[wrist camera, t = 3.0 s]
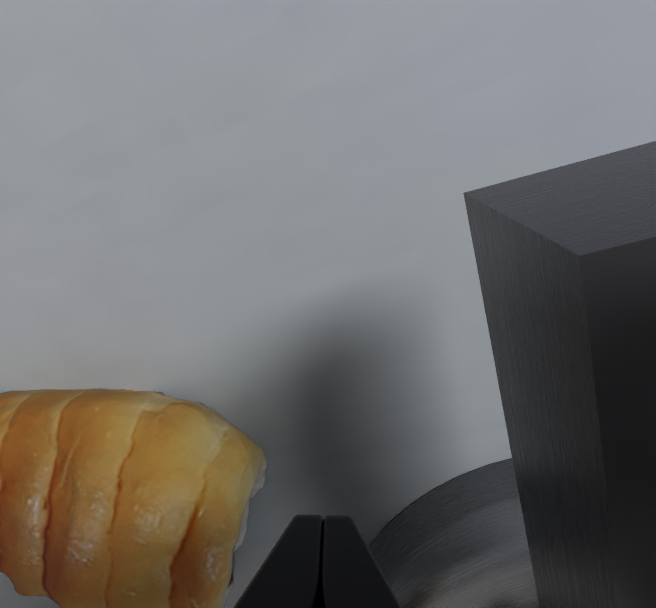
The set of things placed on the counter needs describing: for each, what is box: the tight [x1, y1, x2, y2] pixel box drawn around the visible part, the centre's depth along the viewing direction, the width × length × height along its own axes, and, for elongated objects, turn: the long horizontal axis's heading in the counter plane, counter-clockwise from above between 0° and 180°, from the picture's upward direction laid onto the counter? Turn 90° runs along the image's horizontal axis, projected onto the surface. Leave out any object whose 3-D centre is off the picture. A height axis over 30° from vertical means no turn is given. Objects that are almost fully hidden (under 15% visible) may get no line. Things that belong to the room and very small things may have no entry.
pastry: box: [0, 389, 268, 608], centre depth 14 cm, size 9×7×4 cm
